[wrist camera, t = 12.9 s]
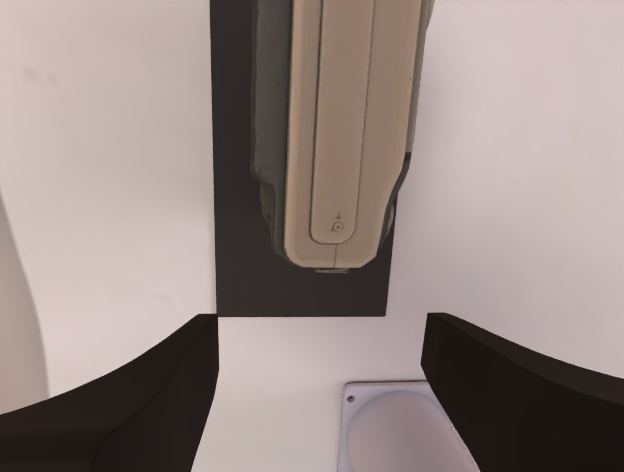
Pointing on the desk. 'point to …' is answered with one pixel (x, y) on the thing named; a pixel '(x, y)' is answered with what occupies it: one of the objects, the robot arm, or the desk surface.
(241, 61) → the desk pad
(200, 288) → the desk surface
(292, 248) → the camera
